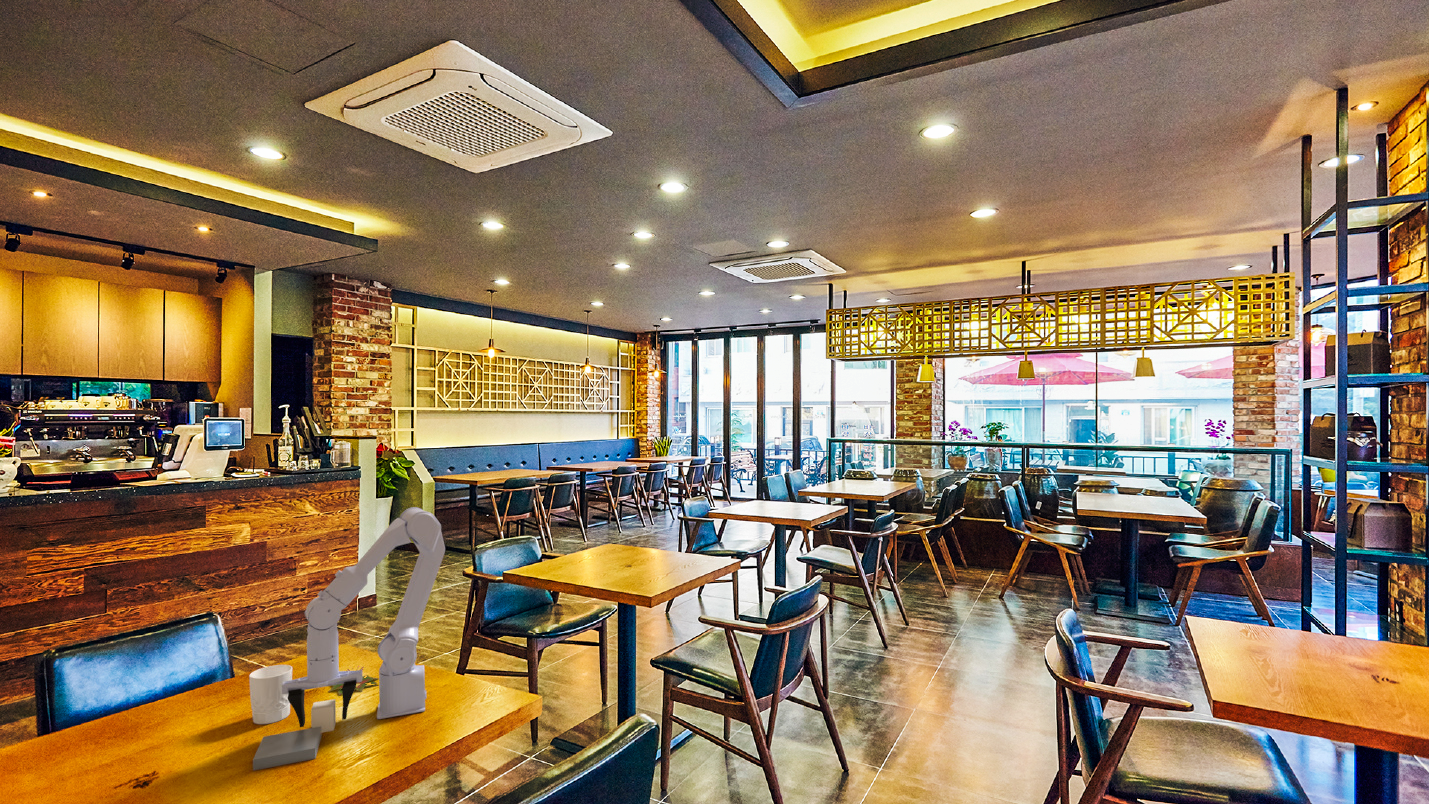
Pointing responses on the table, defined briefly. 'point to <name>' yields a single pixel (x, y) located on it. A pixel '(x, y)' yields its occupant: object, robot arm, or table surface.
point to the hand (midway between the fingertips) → (323, 721)
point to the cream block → (324, 715)
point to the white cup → (269, 694)
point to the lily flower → (361, 686)
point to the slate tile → (287, 748)
